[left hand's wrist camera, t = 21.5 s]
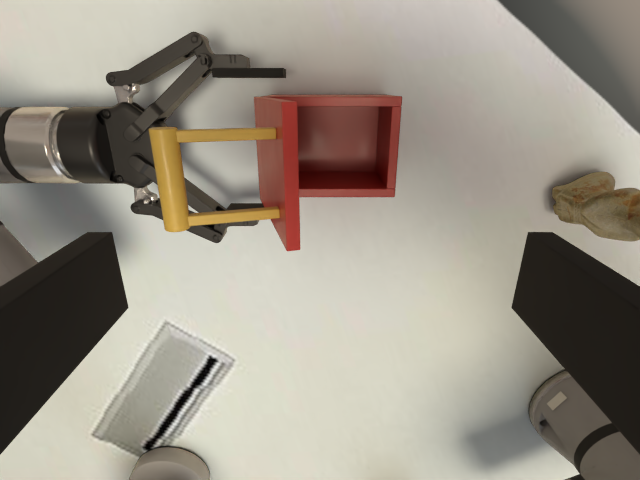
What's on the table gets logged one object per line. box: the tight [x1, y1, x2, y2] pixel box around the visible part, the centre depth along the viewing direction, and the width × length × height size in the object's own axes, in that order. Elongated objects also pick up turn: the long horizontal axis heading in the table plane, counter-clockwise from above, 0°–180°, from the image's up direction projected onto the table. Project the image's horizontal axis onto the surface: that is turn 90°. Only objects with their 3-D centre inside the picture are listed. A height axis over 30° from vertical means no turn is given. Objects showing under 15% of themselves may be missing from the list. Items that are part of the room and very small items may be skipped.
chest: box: [261, 95, 402, 197], centre depth 40 cm, size 13×9×9 cm
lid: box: [149, 97, 300, 251], centre depth 29 cm, size 13×9×9 cm
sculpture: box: [552, 172, 640, 241], centre depth 40 cm, size 6×7×15 cm
